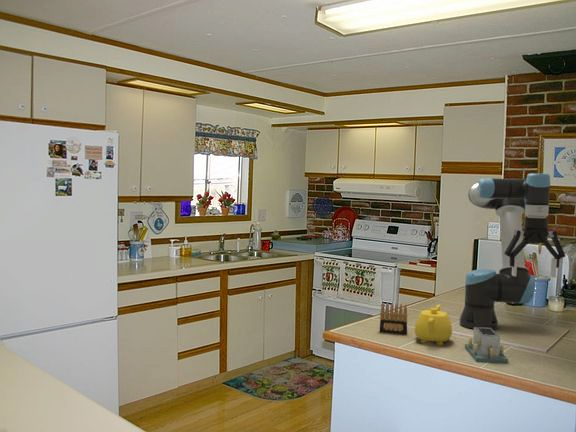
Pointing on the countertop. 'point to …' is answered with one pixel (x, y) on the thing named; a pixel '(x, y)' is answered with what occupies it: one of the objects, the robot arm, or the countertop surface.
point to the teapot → (433, 326)
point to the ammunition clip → (393, 320)
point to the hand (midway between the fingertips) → (533, 276)
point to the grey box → (486, 341)
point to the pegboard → (479, 358)
